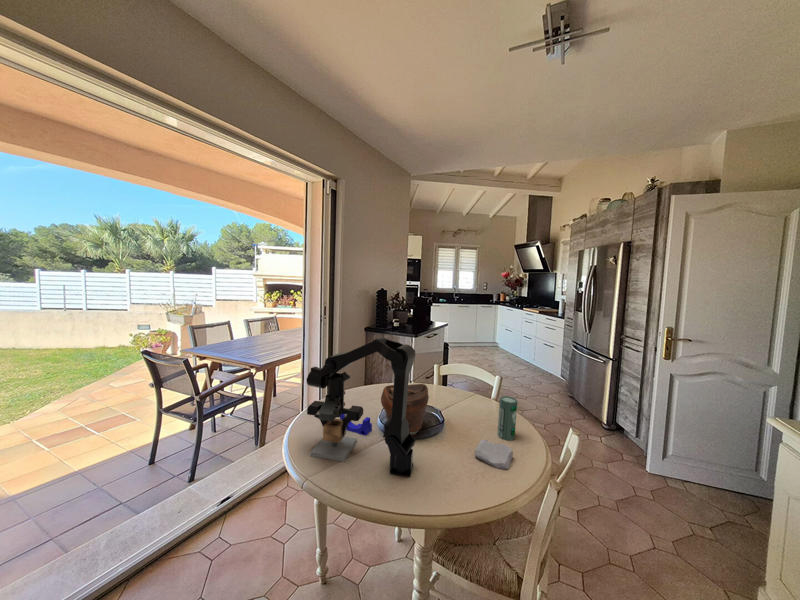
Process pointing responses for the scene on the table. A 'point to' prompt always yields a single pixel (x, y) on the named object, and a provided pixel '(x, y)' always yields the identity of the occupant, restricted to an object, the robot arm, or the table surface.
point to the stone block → (494, 454)
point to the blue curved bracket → (359, 426)
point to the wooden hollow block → (333, 431)
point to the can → (507, 418)
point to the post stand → (334, 449)
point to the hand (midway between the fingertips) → (334, 434)
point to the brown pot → (408, 404)
